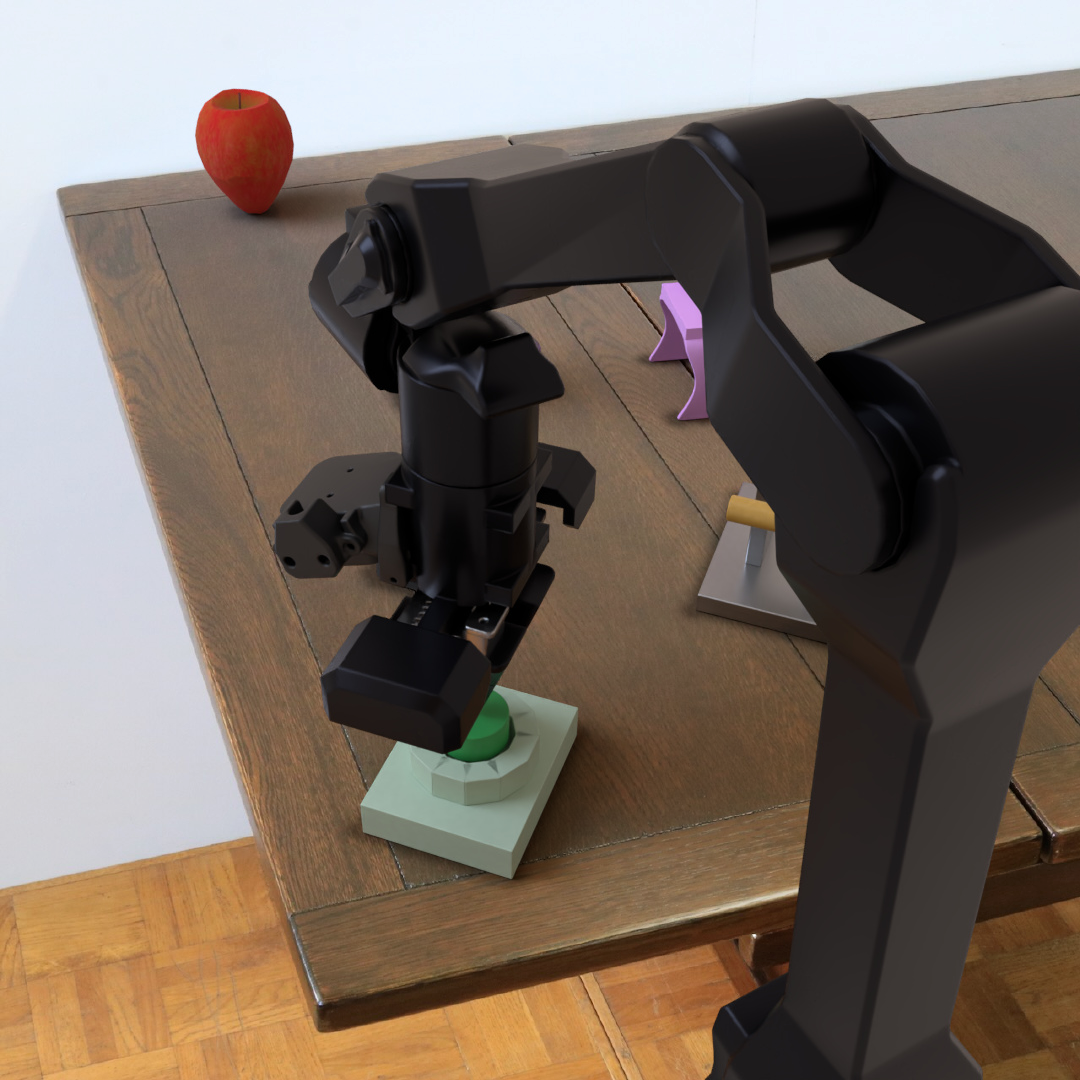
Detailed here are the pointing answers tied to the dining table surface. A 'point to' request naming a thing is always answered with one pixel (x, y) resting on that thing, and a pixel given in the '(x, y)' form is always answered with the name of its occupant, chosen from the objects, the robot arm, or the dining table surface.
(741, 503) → the latch lever
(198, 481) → the dining table surface
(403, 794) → the push button base
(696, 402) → the toy chair
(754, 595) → the latch bracket
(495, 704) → the button
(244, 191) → the apple
